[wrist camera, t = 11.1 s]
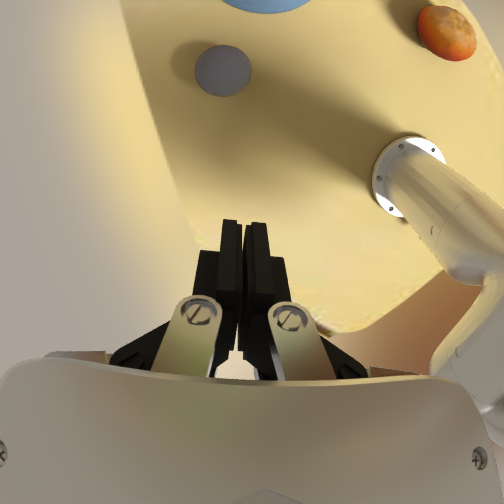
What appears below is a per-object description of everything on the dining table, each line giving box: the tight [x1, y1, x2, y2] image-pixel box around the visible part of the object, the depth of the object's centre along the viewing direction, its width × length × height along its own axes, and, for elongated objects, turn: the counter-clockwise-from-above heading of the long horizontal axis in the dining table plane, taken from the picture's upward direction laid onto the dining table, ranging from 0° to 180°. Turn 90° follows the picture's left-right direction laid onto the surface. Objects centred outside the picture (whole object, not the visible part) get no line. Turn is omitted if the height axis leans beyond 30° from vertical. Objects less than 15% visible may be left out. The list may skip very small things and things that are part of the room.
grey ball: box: [195, 45, 251, 97], centre depth 28 cm, size 6×6×6 cm
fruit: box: [417, 5, 476, 61], centre depth 23 cm, size 8×8×8 cm
